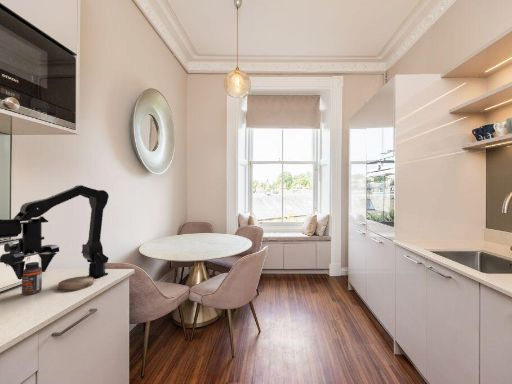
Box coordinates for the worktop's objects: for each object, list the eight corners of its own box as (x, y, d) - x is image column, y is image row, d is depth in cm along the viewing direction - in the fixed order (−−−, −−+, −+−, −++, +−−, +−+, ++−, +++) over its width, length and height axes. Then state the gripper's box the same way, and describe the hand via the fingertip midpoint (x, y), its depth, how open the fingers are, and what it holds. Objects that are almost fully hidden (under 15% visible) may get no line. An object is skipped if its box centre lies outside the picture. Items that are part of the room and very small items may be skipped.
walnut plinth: (75, 280, 116) (75, 275, 116) (100, 281, 114) (100, 276, 114) (50, 290, 104) (50, 285, 104) (77, 291, 102) (77, 286, 102)
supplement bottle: (17, 296, 98) (17, 265, 98) (27, 290, 104) (27, 261, 104) (36, 294, 100) (36, 264, 100) (44, 289, 105) (44, 260, 105)
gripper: (37, 231, 112) (37, 267, 112) (-14, 238, 94) (-14, 282, 94) (60, 231, 111) (60, 268, 111) (13, 239, 92) (13, 284, 92)
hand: (32, 275), depth 102 cm, fingers open, 9 cm apart
